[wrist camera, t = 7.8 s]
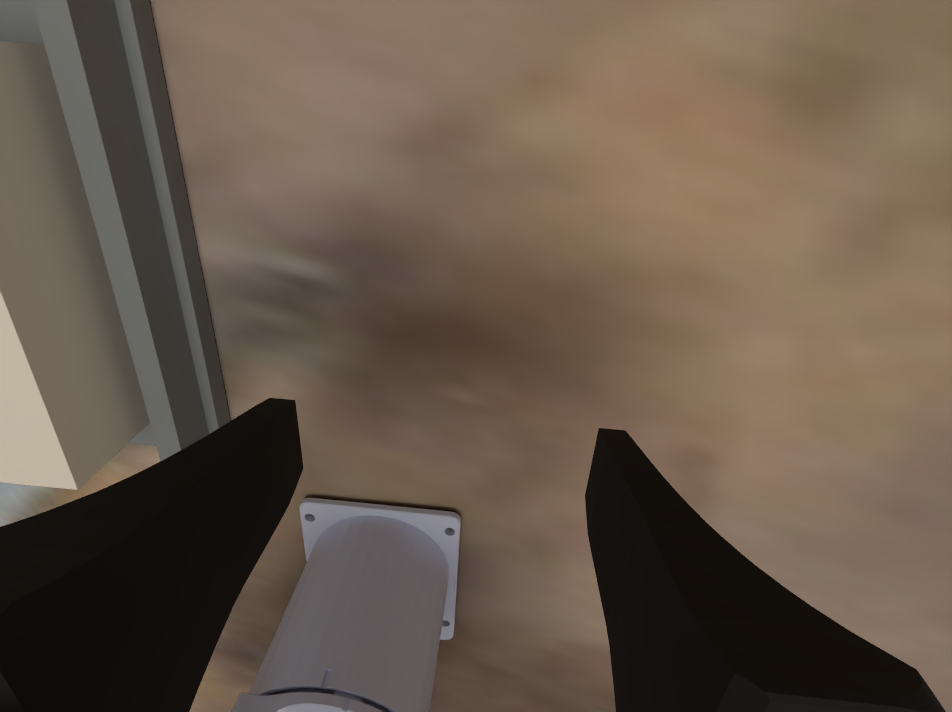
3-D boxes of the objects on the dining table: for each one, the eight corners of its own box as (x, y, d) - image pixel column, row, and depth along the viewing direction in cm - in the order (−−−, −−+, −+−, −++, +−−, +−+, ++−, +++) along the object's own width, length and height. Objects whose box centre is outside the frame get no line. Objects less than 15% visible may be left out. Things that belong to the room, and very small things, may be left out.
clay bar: (161, 412, 23) (77, 489, 19) (95, 405, 23) (-3, 481, 19) (63, 45, 17) (-100, 34, 12) (-28, 39, 17) (-221, 26, 12)
